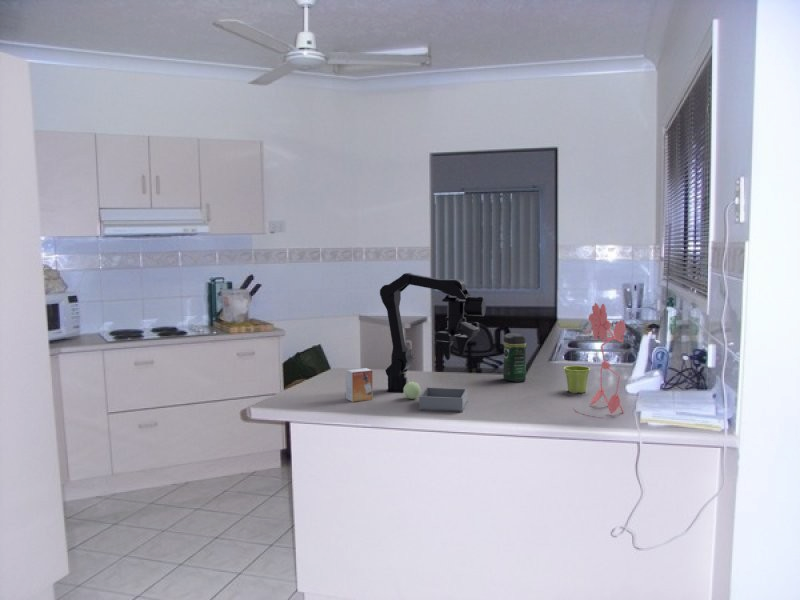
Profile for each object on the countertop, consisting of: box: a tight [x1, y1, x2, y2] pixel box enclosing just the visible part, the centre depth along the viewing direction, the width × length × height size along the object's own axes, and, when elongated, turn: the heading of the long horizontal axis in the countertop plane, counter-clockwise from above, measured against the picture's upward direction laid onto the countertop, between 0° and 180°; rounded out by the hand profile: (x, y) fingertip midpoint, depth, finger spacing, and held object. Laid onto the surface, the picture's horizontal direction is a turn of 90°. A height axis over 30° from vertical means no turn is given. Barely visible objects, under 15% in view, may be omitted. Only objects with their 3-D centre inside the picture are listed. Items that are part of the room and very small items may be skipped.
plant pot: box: [563, 365, 591, 394], centre depth 244 cm, size 9×9×9 cm
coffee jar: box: [502, 332, 527, 383], centre depth 265 cm, size 10×8×19 cm
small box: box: [345, 367, 374, 403], centre depth 235 cm, size 8×6×10 cm
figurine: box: [573, 302, 627, 419], centre depth 216 cm, size 15×26×35 cm, turn 11°
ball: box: [403, 381, 422, 400], centre depth 236 cm, size 6×6×6 cm
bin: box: [418, 386, 468, 413], centre depth 225 cm, size 14×14×4 cm
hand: (454, 358), depth 240 cm, fingers open, 9 cm apart
